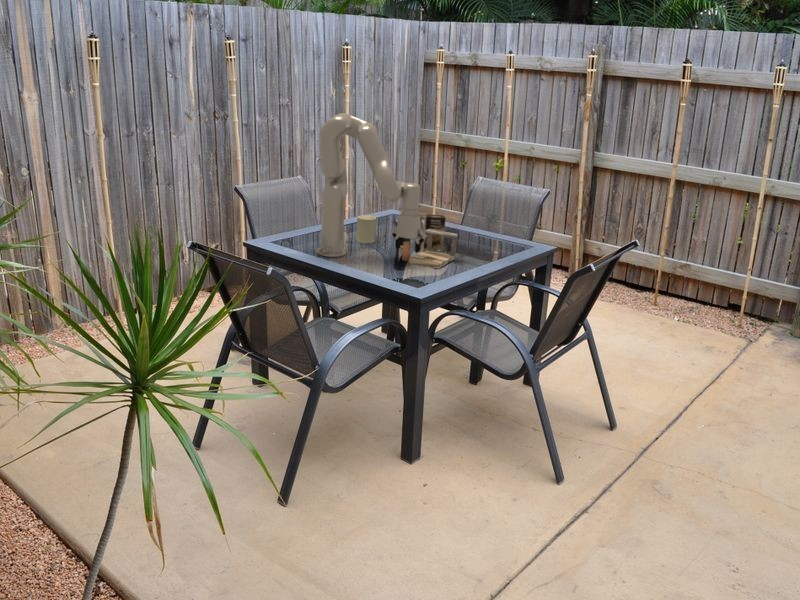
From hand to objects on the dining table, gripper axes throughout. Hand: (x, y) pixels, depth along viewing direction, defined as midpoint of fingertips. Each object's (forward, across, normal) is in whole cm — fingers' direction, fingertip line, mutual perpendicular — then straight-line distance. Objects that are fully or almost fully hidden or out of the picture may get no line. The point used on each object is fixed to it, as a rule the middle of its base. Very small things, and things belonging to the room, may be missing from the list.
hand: (407, 250), depth 321 cm
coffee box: (+5, 0, +24) cm, 24 cm away
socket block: (+5, +10, +6) cm, 12 cm away
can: (+4, -30, +15) cm, 34 cm away
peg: (+4, 0, 0) cm, 5 cm away
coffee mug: (+5, -16, +44) cm, 47 cm away
